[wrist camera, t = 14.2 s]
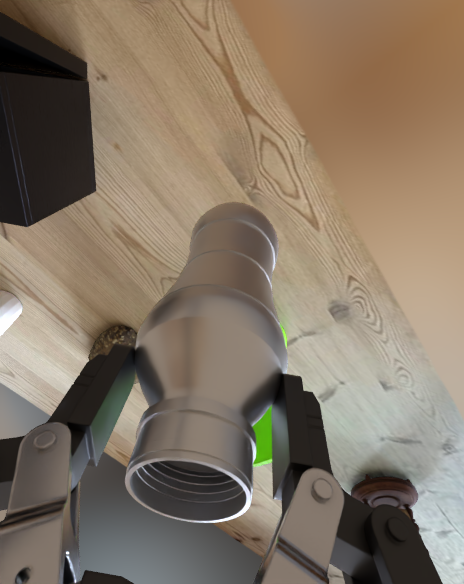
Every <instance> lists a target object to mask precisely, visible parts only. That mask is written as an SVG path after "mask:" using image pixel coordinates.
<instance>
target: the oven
mask: <svg viewBox="0 0 464 584" xmlns="http://www.w3.org/2000/svg"><path fill="white" fill-rule="evenodd" d="M95 191H96V182H95V168H94V153H93V139H92V125H91V110H90V96H89V82H87V81H82V80H77V79H72V78H66V77H61V76H56V75H51V74H45V73H40V72H35V71H30V70H24V69H19V68H14V67H8V66H3V65H0V222H3V223H8V224H13V225H19V226H24V227H29V226H31V225H32V224H35V223H36V222H38V221H40V220H42V219H44V218H46V217H48V216H50V215H52V214H54V213H55V212H57V211H59V210H61V209H63V208H65V207H67V206H69V205H71V204H73V203H74V202H76V201H78V200H80V199H82V198H84V197H86V196H88V195H90V194H92V193H93V192H95Z"/></svg>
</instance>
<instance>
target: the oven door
mask: <svg viewBox="0 0 464 584" xmlns="http://www.w3.org/2000/svg"><path fill="white" fill-rule="evenodd" d="M0 62H1V63H6V64H12V65H17V66H22V67H27V68H33V69H38V70H43V71H48V72H54V73H59V74H64V75H70V76H75V77H80V78H85V79H87V63H86V62H85V61H83V60H81V59H79V58H78V57H76V56H74V55H73V54H71V53H69V52H68V51H66V50H64V49H62V48H61V47H59V46H57V45H56V44H54V43H52V42H51V41H49V40H47V39H45V38H44V37H42V36H40V35H39V34H37V33H35V32H34V31H32V30H30V29H28V28H27V27H25V26H23V25H22V24H20V23H18V22H17V21H15V20H13V19H11V18H10V17H8V16H6V15H5V14H3V13H1V12H0Z"/></svg>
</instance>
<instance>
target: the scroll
mask: <svg viewBox="0 0 464 584" xmlns="http://www.w3.org/2000/svg"><path fill="white" fill-rule="evenodd" d="M365 479H366V480H364V481H362V482H360V483H358V484H357V485H355V486H354V487H353V489H352V491H351V496H352V497H354V498H355V499H357V500H359V501H361V502H363V503H365V504H367V505H369V506H371V507H372V508H374V509H375V508H376V507H377V506H378V505H381V504H389V505H392V506H394V507H397V508H398V509H400V510H401V511H402V512H404V513H405V514H406V515H407V516H408V517H409V518H410V519H411V521H412V522H413V523H414V525H415V526H416V528H417V530H418V532H419V527H418V525H417V524H416V523H415V519H413V511H412V510H411V509H410V508H411V507H412V506H413V505H415V503H416V502H417V500H418V494H417V491H416V489H415V487H414V486H413V485H412V483H411V482H410V480H408V479H407V480H403V479H400V478H394V477H376V478H370V477H369V475H368V474H366V477H365ZM420 536H421V535H420ZM421 539H422V538H421ZM427 551H428V550H427ZM428 554H429V552H428Z"/></svg>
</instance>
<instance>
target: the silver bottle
mask: <svg viewBox="0 0 464 584" xmlns="http://www.w3.org/2000/svg"><path fill="white" fill-rule="evenodd" d="M278 250H279V245H278V238H277V235H276V232H275V230H274V228H273V226H272V225H271V223H270V221H269V220H268V219H267V218H266V216H265V215H264V214H263V213H262V212H260V211H259V210H258V209H256V208H254V207H252V206H250V205H247V204H244V203H238V202H230V203H224V204H220V205H218V206H216V207H214V208H212V209H210V210H209V211H207V212H206V213H205V214H204V215H203V216H201V217H200V219H199V220H198V221H197V223H196V224H195V227H194V229H193V232H192V237H191V242H190V253H189V257H188V260H187V264H186V266H185V267H184V269H183V271H182V272H181V274H180V276H179V277H178V279H177V281H176V282H175V284H174V285H173V286H172V287H171V288H170V289H169V290H168V292H167V293H166V294H165V295H164V296H163V297H162V298H161V300H160V301H159V302H158V303H157V304H156V305H155V307H154V308H153V309H152V310H151V312H150V313H149V314H148V316H147V317H146V319H145V320H144V322H143V323H142V325H141V327H140V329H139V332H138V334H137V340H136V349H135V360H134V363H135V369H136V374H137V377H138V380H139V383H140V386H141V389H142V392H143V394H144V397H145V399H146V401H147V403H148V405H149V408H148V409H147V410H146V411H145V412H144V414H143V416H142V417H141V420H140V422H139V425H138V428H137V432H136V444H135V447H134V450H133V453H132V455H131V458H130V461H129V464H128V467H127V472H126V478H125V484H126V488H127V490H128V492H129V493H130V495H131V496H132V497H133V498H134V499H135V500H136V501H137V502H139V503H140V504H141V505H143V506H144V507H146V508H148V509H150V510H152V511H154V512H156V513H159V514H161V515H164V516H167V517H170V518H173V519H178V520H182V521H189V522H198V523H212V522H221V521H227V520H230V519H233V518H236V517H238V516H240V515H242V514H243V513H244V512H245V511H247V510H248V508H249V506H250V505H251V499H252V494H253V462H254V460H255V458H256V435H255V431H254V429H253V428H252V427H253V426H254V425H255V424H256V423H257V422H258V421H259V420H260V419H261V418H262V416H263V415H264V414H265V413H266V412H267V410H268V409H269V408H270V407H271V405H272V404H273V403H274V401H275V399H276V396H277V394H278V390H279V387H280V383H281V378H282V373H283V374H286V372H287V367H288V355H287V349H286V344H285V338H284V336H283V332H282V329H281V326H280V322H279V319H278V316H277V313H276V309H275V306H274V301H273V293H272V286H271V281H272V273H273V270H274V267H275V265H276V261H277V257H278Z"/></svg>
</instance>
